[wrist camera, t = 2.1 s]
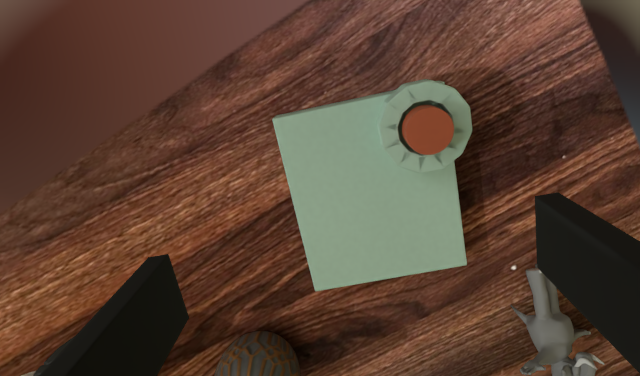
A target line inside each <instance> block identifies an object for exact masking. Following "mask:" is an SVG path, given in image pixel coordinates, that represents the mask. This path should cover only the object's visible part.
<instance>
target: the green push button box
mask: <svg viewBox="0 0 640 376" xmlns="http://www.w3.org/2000/svg"><path fill="white" fill-rule="evenodd" d="M420 105H432V106H435V107H438V108H440V109H442V110H444V111H445V112H446V113H448V115H449V116H450V117H451V119H452V121H453V124H454V134H453V138H452V140H451V142H450V143H449V145H448V146H447V147H446V148H445V149H444V150H442V151H441V152H439V153H436V154H433V155H423V154H420V153H418V152H416V151H414V150H413V149H412V148H411V147H410V146H409V145H408V143H407V142H406V141H405V139H404V137H403V134H402V124H403V121H404V118H405V117H406V115H407V114H408V113H409V112H410V111H411V110H412V109H414V108H415V107H417V106H420ZM272 120H273V124H274V128H275V132H276V136H277V140H278V144H279V148H280V152H281V156H282V160H283V164H284V168H285V172H286V176H287V180H288V184H289V188H290V192H291V196H292V200H293V204H294V208H295V212H296V216H297V220H298V224H299V228H300V232H301V236H302V240H303V244H304V248H305V252H306V256H307V260H308V264H309V268H310V272H311V277H312V281H313V285H314V289H315V291H320V290H326V289H331V288H337V287H343V286H349V285H354V284H360V283H366V282H372V281H377V280H383V279H389V278H395V277H401V276H406V275H412V274H418V273H424V272H429V271H435V270H441V269H447V268H452V267H458V266H464V265H467V260H466V252H465V244H464V236H463V228H462V220H461V211H460V203H459V195H458V187H457V179H456V171H455V163H454V160H455V159H456V158H458V157H459V156H460V155H461V154H462V153H463V151H464V149H465V147H466V144H467V142H468V140H469V138H470V135H471V133H472V121H471V111H470V107H469V105H468V104H467V102H466V101H465V100H464V99H463V97H462V96H461V95H460V94H459V92H458V91H457V90H456V89H455V88H453V87H451V86H448V85H445V82H442V81H433V80H428V79H423V80H419V81H414V82H409V83H405V84H403V85H401V86H400V87H399V88H397V89H396V90H392V91H388V92H383V93H379V94H374V95H369V96H365V97H360V98H355V99H351V100H346V101H342V102H337V103H332V104H328V105H323V106H318V107H314V108H309V109H305V110H300V111H295V112H291V113H286V114H281V115H277V116H275V117H274V118H273V119H272Z"/></svg>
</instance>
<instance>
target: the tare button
mask: <svg viewBox="0 0 640 376" xmlns="http://www.w3.org/2000/svg"><path fill="white" fill-rule="evenodd" d="M402 134H403V137H404V139H405V141H406V142H407V143H408V145H409V146H410V147H411V148H412V149H413V150H414V151H416V152H418V153H420V154H423V155H433V154H436V153H439V152H441V151H442V150H444V149H445V148H446V147H447V146H448V145H449V143H450V142H451V140H452V138H453V134H454V124H453V121H452V119H451V117H450V116H449V115H448V113H446V112H445V111H444V110H442V109H440V108H438V107H435V106H432V105H420V106H417V107H415V108H414V109H412V110H411V111H410V112H409V113H408V114H407V115H406V117H405V118H404V121H403V124H402Z"/></svg>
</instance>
